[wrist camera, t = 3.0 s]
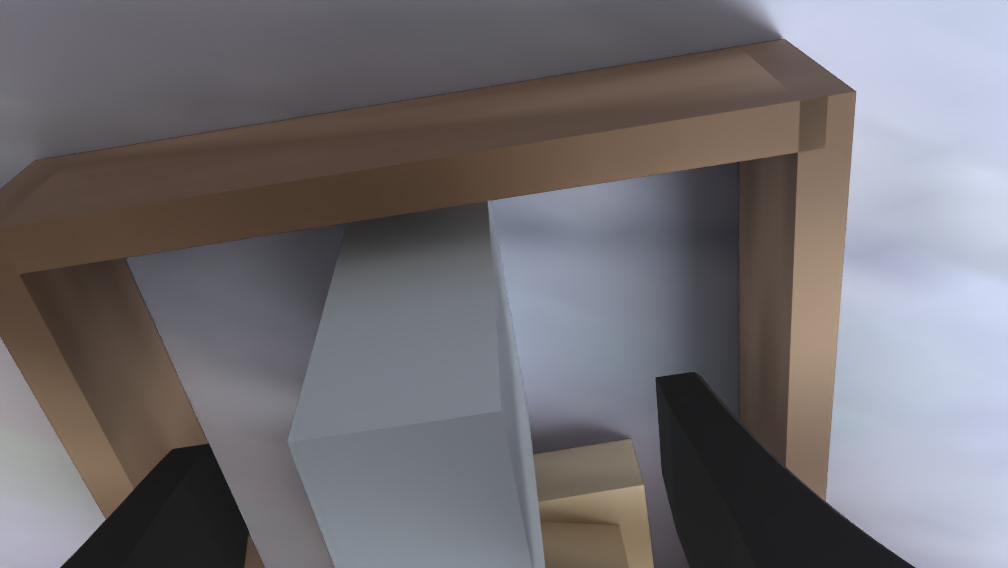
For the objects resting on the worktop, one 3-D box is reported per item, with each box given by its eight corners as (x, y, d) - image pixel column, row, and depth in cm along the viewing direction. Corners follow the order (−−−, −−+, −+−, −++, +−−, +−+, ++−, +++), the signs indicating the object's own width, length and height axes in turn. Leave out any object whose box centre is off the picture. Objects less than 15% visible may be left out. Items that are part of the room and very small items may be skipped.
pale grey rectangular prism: (528, 414, 18) (561, 713, 12) (420, 429, 18) (399, 735, 12) (485, 171, 15) (501, 410, 9) (355, 191, 15) (286, 442, 9)
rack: (769, 600, 22) (809, 707, 19) (279, 665, 22) (254, 777, 20) (784, 38, 14) (856, 91, 12) (34, 160, 15) (-58, 236, 12)
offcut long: (641, 532, 21) (657, 597, 19) (380, 574, 21) (373, 641, 20) (627, 423, 19) (643, 484, 17) (340, 472, 20) (329, 536, 18)
